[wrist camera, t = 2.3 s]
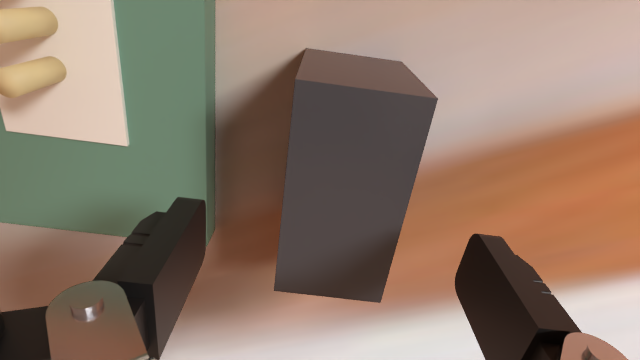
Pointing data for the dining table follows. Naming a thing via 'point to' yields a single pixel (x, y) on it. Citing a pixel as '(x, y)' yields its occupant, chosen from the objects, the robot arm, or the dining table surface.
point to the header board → (105, 111)
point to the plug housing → (349, 173)
